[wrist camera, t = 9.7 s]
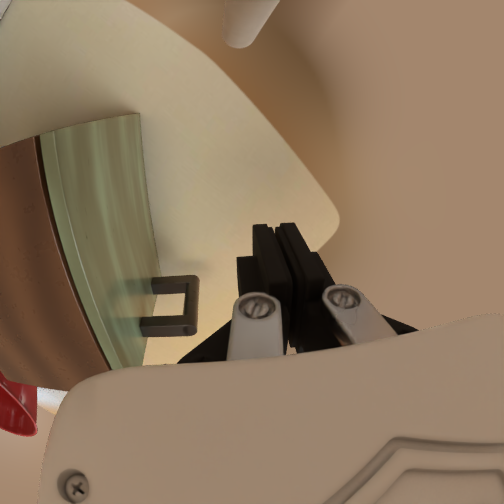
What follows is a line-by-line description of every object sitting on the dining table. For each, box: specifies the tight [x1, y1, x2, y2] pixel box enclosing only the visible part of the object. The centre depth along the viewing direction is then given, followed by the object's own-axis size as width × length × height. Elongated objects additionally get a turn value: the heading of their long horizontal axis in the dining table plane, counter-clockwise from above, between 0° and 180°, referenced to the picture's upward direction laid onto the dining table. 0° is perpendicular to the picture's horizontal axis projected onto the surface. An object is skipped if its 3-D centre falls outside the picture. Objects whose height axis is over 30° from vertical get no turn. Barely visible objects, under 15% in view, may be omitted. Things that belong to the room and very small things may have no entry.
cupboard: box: [0, 134, 112, 391], centre depth 22 cm, size 14×20×18 cm
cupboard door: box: [40, 113, 200, 370], centre depth 23 cm, size 6×20×18 cm, turn 1°
